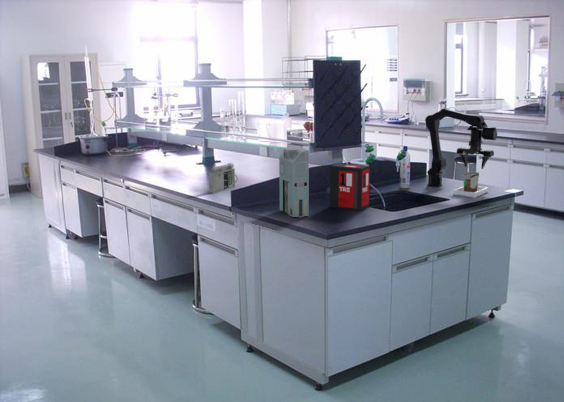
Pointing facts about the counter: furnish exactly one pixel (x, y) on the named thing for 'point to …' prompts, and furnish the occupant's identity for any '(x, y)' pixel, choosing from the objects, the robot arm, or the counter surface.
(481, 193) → the tray
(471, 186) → the food container
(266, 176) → the counter surface
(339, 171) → the cleaning product box
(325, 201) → the counter surface
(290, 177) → the device
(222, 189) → the geiger counter
